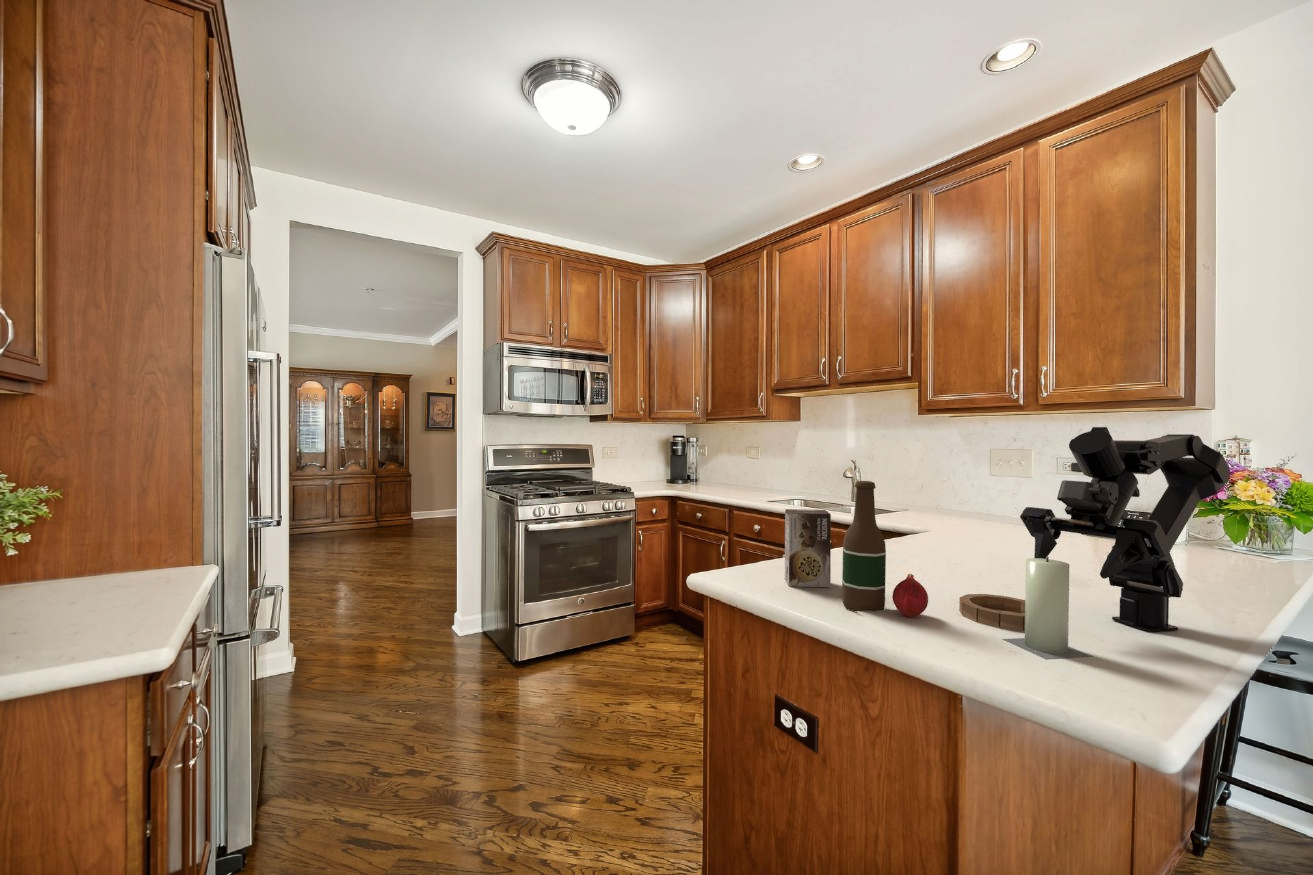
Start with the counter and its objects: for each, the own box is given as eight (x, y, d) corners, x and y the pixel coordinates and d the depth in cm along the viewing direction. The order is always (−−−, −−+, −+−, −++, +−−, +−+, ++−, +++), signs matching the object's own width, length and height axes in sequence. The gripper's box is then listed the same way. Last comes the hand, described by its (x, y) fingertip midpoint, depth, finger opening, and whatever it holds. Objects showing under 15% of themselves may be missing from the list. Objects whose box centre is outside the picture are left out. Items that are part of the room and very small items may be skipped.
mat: (1045, 640, 88) (1045, 636, 88) (1093, 660, 80) (1093, 656, 80) (1002, 642, 87) (1002, 639, 87) (1045, 663, 79) (1045, 659, 79)
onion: (932, 625, 95) (932, 579, 95) (896, 622, 96) (897, 577, 96) (922, 615, 100) (923, 571, 100) (889, 612, 101) (890, 569, 101)
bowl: (1005, 608, 105) (1005, 593, 105) (1066, 632, 92) (1066, 614, 92) (944, 611, 103) (944, 595, 103) (998, 635, 90) (998, 617, 90)
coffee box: (824, 580, 124) (825, 509, 124) (831, 588, 118) (832, 513, 118) (783, 579, 125) (784, 508, 125) (787, 586, 118) (789, 511, 119)
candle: (1045, 640, 87) (1047, 552, 87) (1077, 653, 81) (1078, 560, 82) (1016, 641, 86) (1017, 553, 86) (1045, 655, 81) (1047, 561, 81)
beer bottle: (888, 606, 105) (890, 481, 105) (880, 617, 99) (883, 483, 99) (846, 599, 109) (848, 479, 110) (836, 609, 103) (838, 481, 103)
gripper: (1027, 460, 97) (987, 526, 92) (1161, 466, 80) (1121, 546, 75) (1051, 504, 100) (1014, 569, 95) (1185, 518, 84) (1148, 598, 79)
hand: (1067, 569), depth 86 cm, fingers open, 9 cm apart
